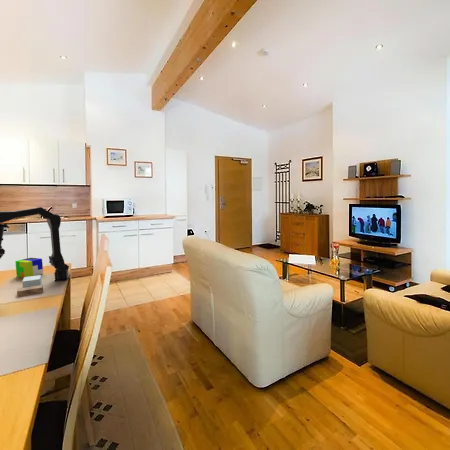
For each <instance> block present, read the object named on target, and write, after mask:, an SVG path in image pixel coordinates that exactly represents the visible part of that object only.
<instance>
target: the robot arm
mask: <svg viewBox="0 0 450 450" xmlns="http://www.w3.org/2000/svg"><path fill="white" fill-rule="evenodd" d="M36 215H37V216H38V215H39V216H41V217H42V218H44V219H45V220H46V223H47V225H48V228H49V231H50V239H51V240H50V243H51V251H52V253H51V255H50V256H49V255H48V258H49V261H48V263H49V264H50V265H51V267H54V269H55V270H54V271H55V272H54V273H53V274H54V281H55V282H59V281H60V282H61V281H67V280H68V279H70V278H71V276H69V275H70V274H69V267H70V266H69V265H68V264H66V263H65V260H64V257H63V254H62V252H61V251H62V249H61V240H60V227H61V222H62V218H61V216H60V215H58V214H56V213H52V212H50V211H49V210H47V209H45V208H44V207H41V206H37V207H32V208H26V209H19V210H14V211H12V210H11V211H8V210H7V211H1V210H0V259H2V257H3V256H4V255H5V254H6V250H5V249H4V248H3V245H2V242H3V241H4V238H3V236H4V230H5V229H10V226H8V224H7V223H6V222H9V221H12V220H14V219H19V218H25V217H30V216H36ZM2 223H3V224H2Z"/></svg>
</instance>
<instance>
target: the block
mask: <svg viewBox="0 0 450 450" xmlns="http://www.w3.org/2000/svg"><path fill="white" fill-rule="evenodd" d="M21 282H22V283H21V284H22V288H26V287H32V286H39V285H43V284H42V283H43V281H42V274H40V275H37V276H30V277H23V279H22V281H21Z"/></svg>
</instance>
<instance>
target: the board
mask: <svg viewBox="0 0 450 450" xmlns="http://www.w3.org/2000/svg"><path fill="white" fill-rule="evenodd" d="M40 292H42V293H44V285H43V284H41V285H39V286H32V287H26V288H23V287H20V288H17V289H16V296H18V297H23V296H29V295H35V294H40Z"/></svg>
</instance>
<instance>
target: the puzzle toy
mask: <svg viewBox="0 0 450 450" xmlns="http://www.w3.org/2000/svg"><path fill="white" fill-rule="evenodd" d="M15 270H16V277H17V278H24V277H30V276H37V275H43V274H44V267H43V258H40V257H39V258H38V257H28V258H23V259H18V260H15Z"/></svg>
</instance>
